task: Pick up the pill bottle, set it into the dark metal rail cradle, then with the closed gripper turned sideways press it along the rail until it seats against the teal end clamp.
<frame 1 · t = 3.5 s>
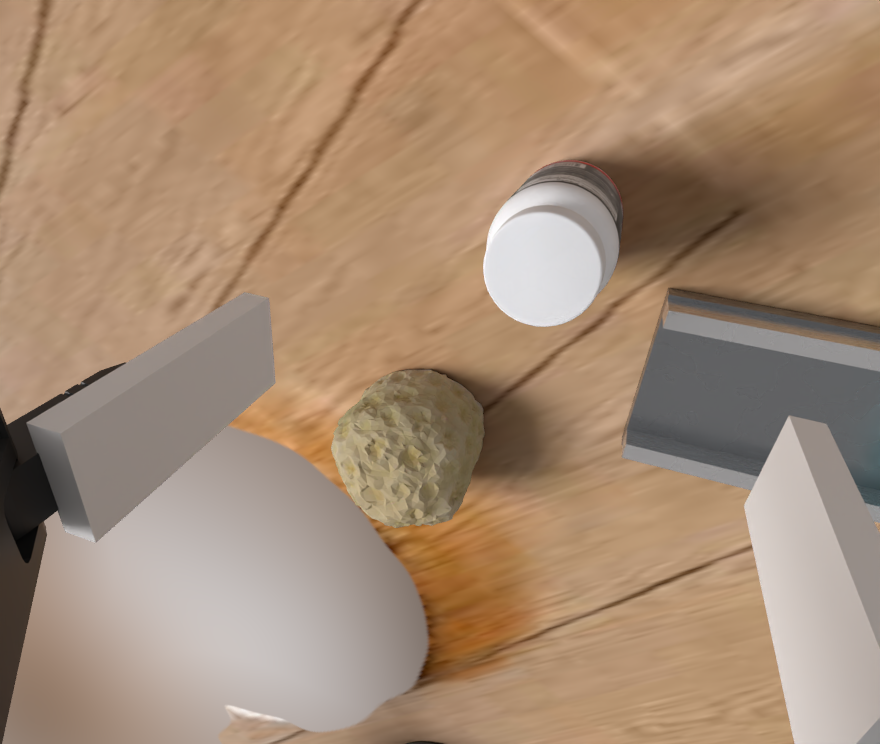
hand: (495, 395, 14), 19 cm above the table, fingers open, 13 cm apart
pill bottle: (568, 213, 30), on the table
decorative object: (425, 421, 40), on the table
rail: (792, 400, 31), on the table
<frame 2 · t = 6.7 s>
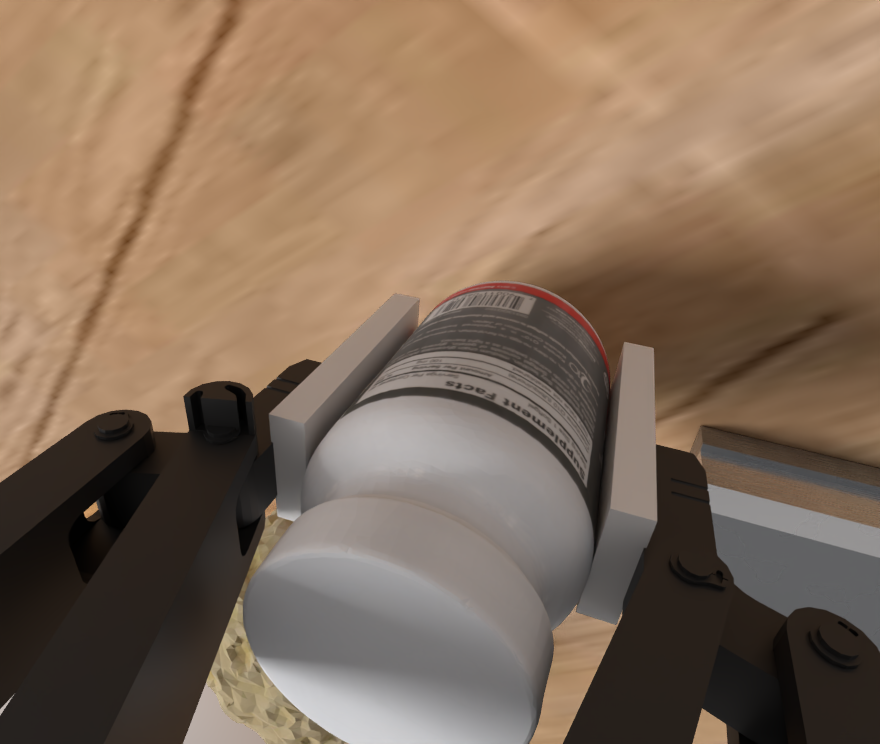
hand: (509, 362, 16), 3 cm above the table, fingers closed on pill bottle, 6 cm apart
pill bottle: (512, 364, 17), point 2 cm above the table, touching gripper
decorative object: (345, 561, 29), on the table
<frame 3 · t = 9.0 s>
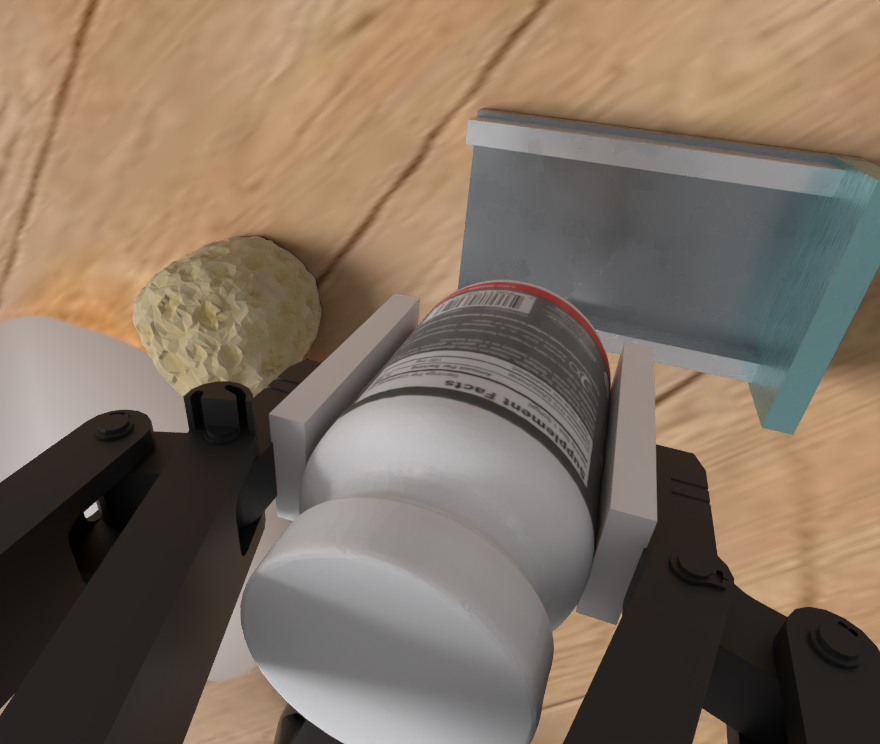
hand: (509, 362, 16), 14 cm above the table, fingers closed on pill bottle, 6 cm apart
pill bottle: (512, 364, 17), point 14 cm above the table, touching gripper
decorative object: (263, 303, 36), on the table
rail: (629, 241, 27), on the table
when the fingers open (2 cm above the table, at t = 11.4 s): pill bottle stays where it is, resting on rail.
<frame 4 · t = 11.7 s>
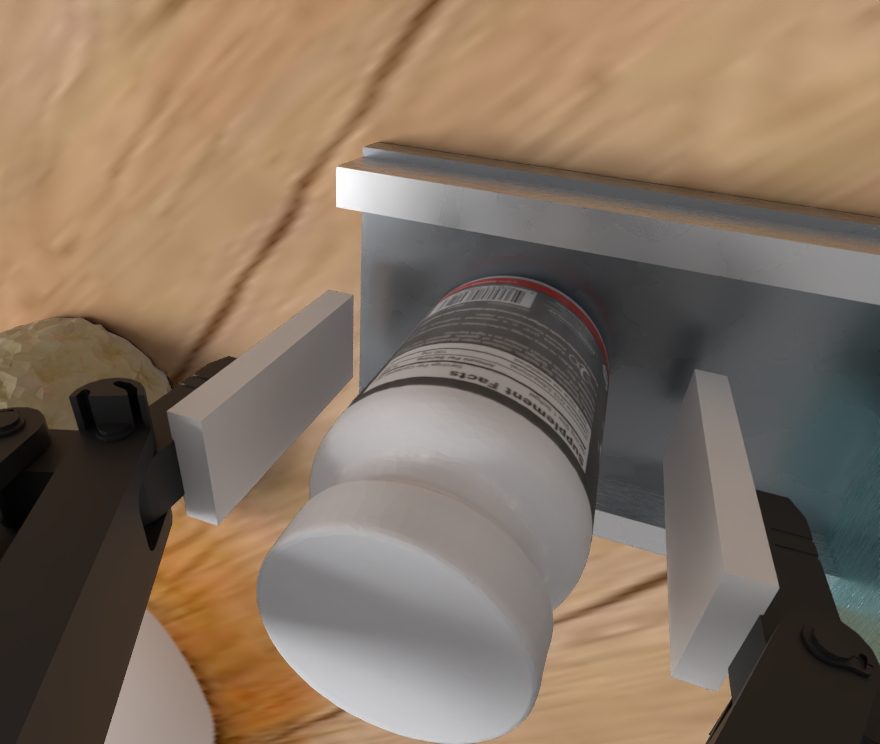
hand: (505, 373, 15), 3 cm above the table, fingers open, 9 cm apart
pill bottle: (513, 358, 17), point 1 cm above the table, touching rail
decorative object: (109, 403, 26), on the table
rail: (620, 356, 17), on the table
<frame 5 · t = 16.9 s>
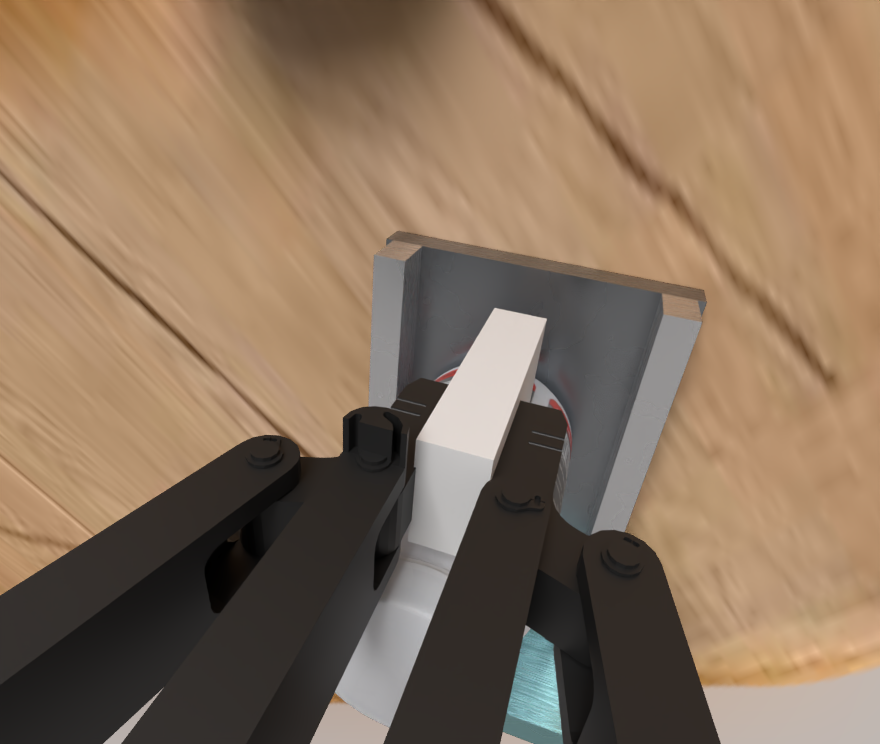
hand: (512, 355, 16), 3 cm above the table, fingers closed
pill bottle: (496, 423, 21), point 1 cm above the table, touching gripper
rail: (504, 451, 22), on the table
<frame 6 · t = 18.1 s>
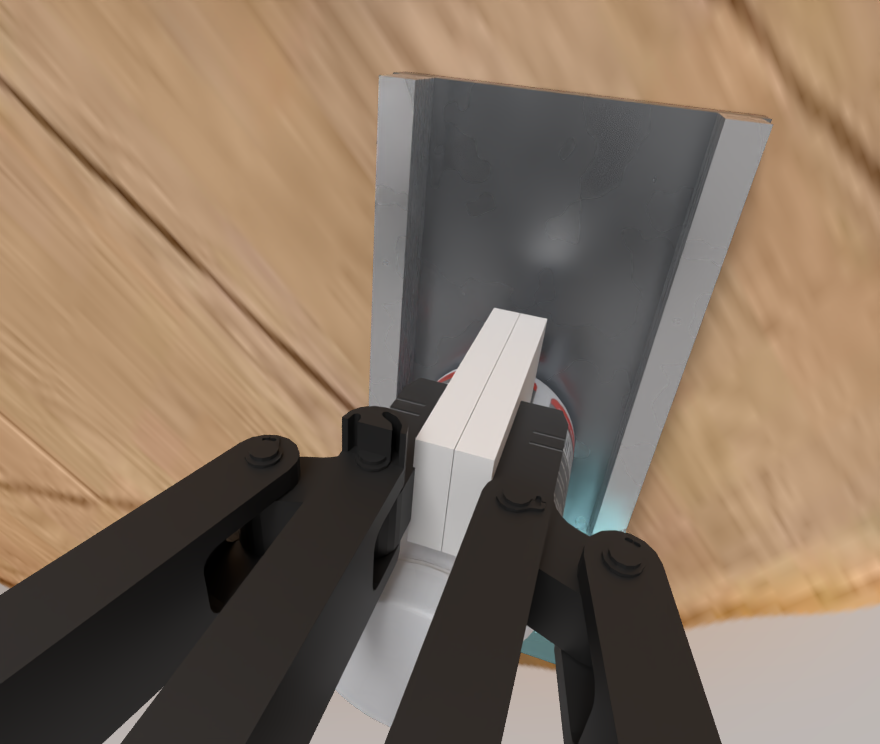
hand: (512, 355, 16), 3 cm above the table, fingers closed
pill bottle: (498, 424, 21), point 1 cm above the table, touching gripper, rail
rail: (525, 343, 20), on the table
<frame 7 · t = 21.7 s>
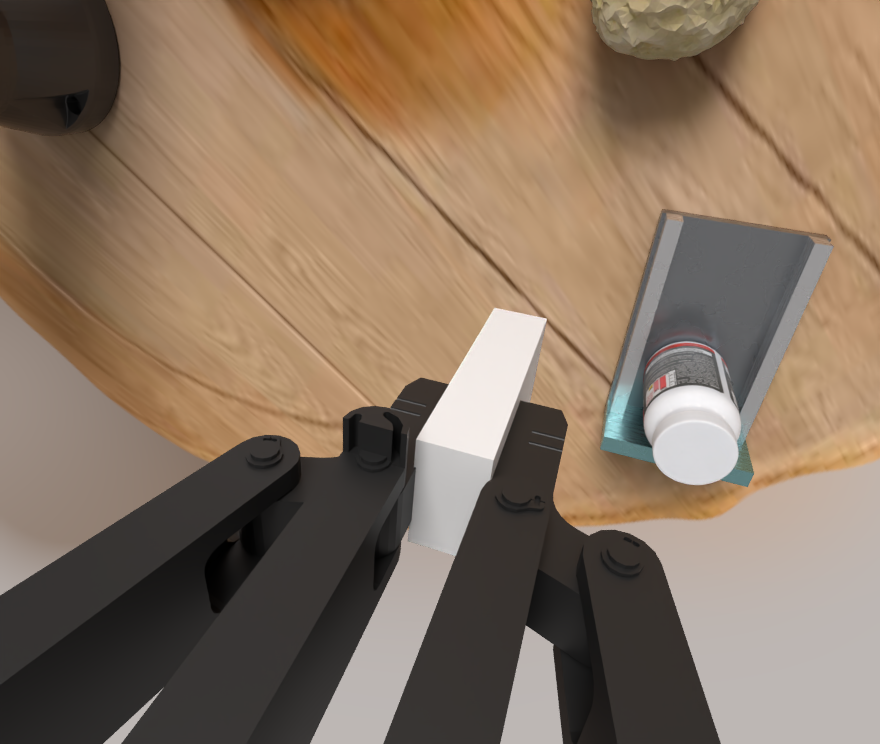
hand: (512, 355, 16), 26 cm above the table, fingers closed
pill bottle: (684, 372, 42), point 1 cm above the table, touching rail
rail: (701, 331, 41), on the table
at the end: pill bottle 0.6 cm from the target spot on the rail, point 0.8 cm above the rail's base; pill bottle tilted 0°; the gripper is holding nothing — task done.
